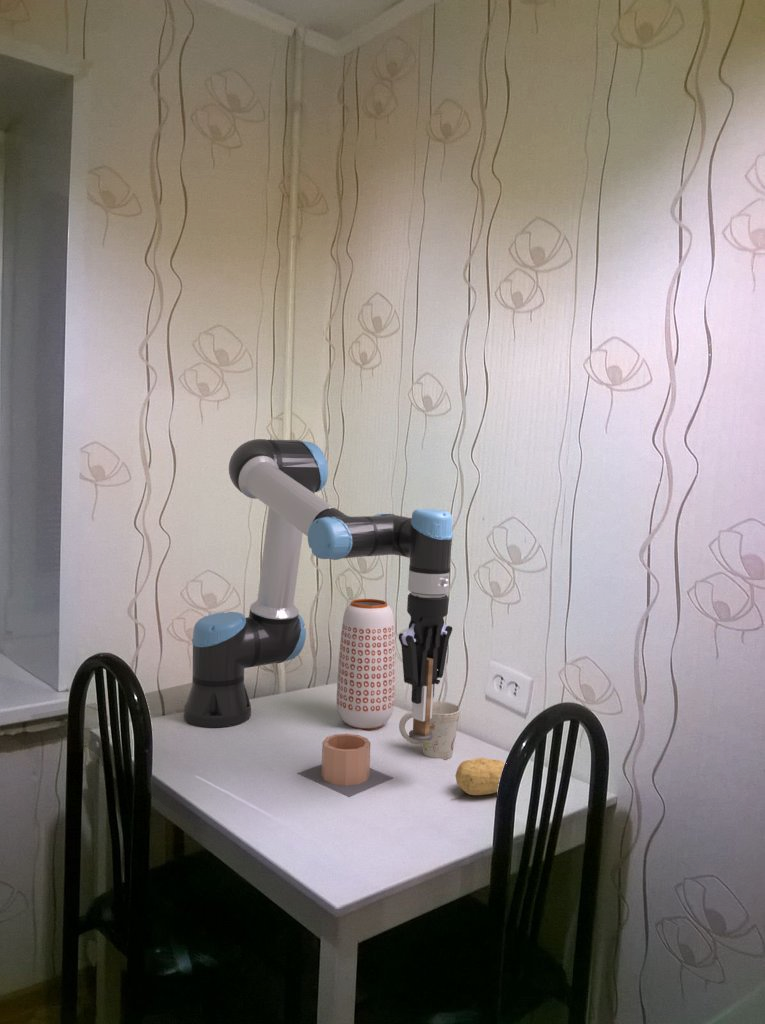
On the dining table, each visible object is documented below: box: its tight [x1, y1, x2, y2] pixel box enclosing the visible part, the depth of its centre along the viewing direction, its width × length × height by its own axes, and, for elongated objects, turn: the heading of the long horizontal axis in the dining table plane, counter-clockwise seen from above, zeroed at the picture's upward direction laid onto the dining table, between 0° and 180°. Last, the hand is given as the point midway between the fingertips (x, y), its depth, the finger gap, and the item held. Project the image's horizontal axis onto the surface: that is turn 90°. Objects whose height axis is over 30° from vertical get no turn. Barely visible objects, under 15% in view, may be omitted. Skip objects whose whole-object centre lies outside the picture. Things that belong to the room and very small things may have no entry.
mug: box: [398, 700, 461, 760], centre depth 160 cm, size 8×13×10 cm, turn 78°
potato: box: [455, 757, 506, 796], centre depth 143 cm, size 7×11×6 cm, turn 106°
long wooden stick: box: [408, 657, 433, 741], centre depth 144 cm, size 4×4×15 cm
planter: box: [336, 598, 396, 731], centre depth 176 cm, size 13×13×28 cm
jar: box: [321, 733, 372, 786], centre depth 147 cm, size 9×9×6 cm
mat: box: [297, 763, 394, 798], centre depth 147 cm, size 14×12×1 cm
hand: (421, 717), depth 145 cm, fingers closed on long wooden stick, 1 cm apart
